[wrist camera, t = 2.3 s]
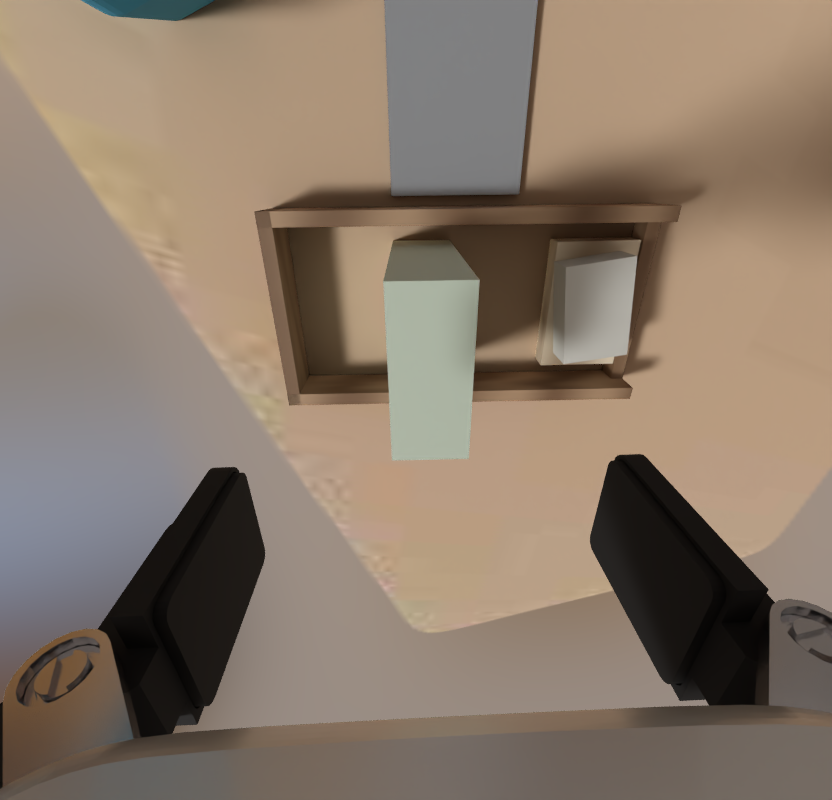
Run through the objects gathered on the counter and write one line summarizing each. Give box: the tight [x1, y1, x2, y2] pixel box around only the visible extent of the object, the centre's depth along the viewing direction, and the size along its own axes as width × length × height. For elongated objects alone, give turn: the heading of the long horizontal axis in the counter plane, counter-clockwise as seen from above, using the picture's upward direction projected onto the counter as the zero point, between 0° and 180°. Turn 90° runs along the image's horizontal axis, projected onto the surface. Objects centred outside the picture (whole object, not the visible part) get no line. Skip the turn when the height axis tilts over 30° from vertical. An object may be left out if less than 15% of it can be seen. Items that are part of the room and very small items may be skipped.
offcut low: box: [535, 237, 641, 365], centre depth 27 cm, size 5×8×2 cm, turn 1°
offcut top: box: [553, 251, 637, 364], centre depth 25 cm, size 4×6×2 cm, turn 9°
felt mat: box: [384, 0, 538, 196], centre depth 21 cm, size 8×11×1 cm
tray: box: [255, 203, 681, 405], centre depth 26 cm, size 23×12×3 cm, turn 91°
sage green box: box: [383, 240, 480, 460], centre depth 22 cm, size 4×8×12 cm, turn 0°
